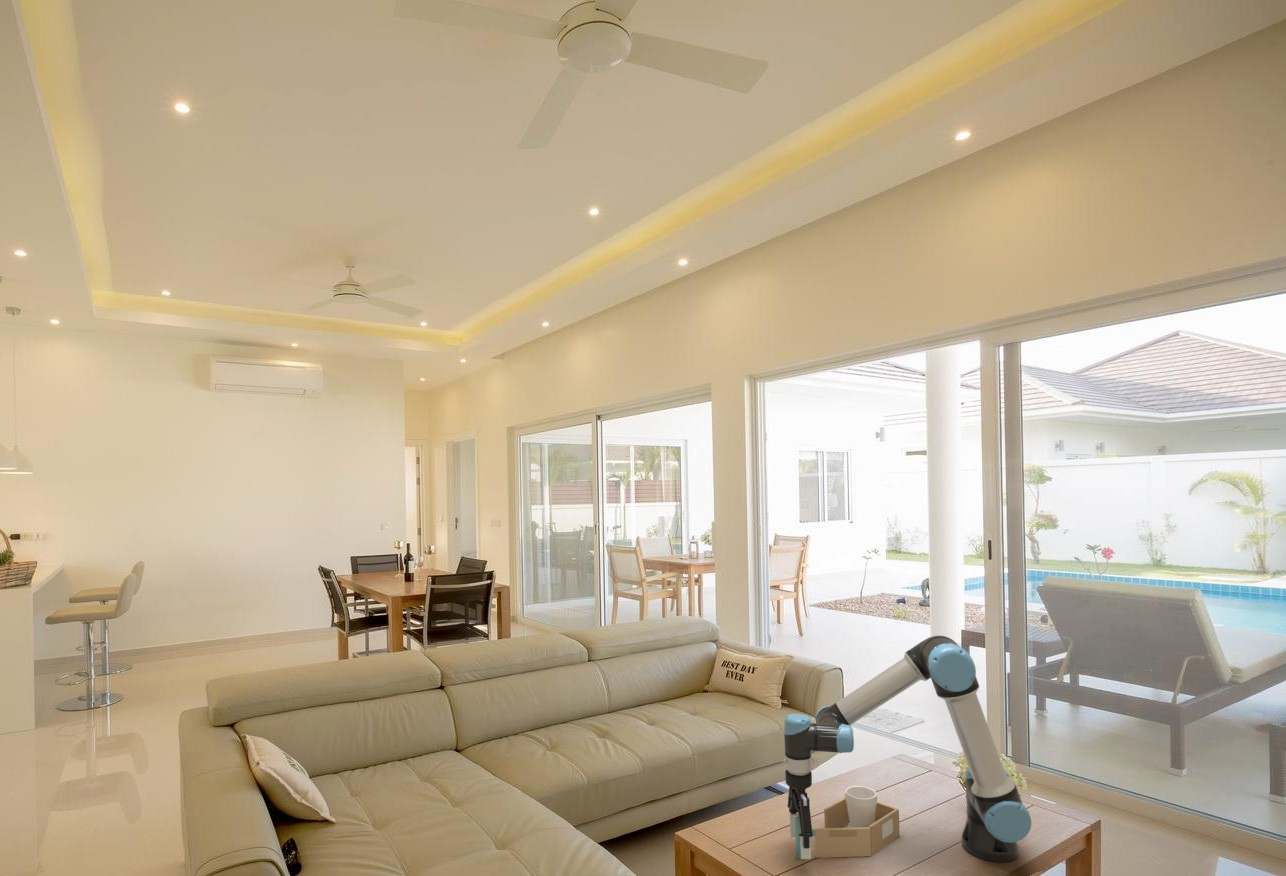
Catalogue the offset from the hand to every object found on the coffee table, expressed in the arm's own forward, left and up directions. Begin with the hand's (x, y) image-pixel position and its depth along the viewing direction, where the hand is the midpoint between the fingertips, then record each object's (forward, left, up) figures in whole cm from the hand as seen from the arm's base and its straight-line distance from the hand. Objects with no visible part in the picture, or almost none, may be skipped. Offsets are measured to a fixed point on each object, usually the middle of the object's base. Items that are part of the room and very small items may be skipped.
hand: (800, 847), depth 210 cm
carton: (-5, -24, -3) cm, 25 cm away
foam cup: (-5, -24, -3) cm, 25 cm away
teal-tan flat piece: (-6, -8, -3) cm, 10 cm away
